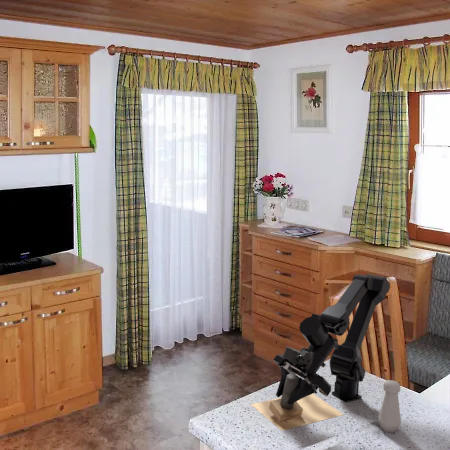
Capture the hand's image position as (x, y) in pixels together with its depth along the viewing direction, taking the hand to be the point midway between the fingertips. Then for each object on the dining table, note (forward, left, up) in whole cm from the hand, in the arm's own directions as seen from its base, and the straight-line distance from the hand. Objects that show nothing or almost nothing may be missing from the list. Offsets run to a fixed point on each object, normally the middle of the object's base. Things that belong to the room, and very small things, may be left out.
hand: (282, 400), depth 153 cm
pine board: (-7, -4, -7) cm, 11 cm away
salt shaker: (-25, +13, -8) cm, 29 cm away
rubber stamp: (-2, -2, -5) cm, 6 cm away
